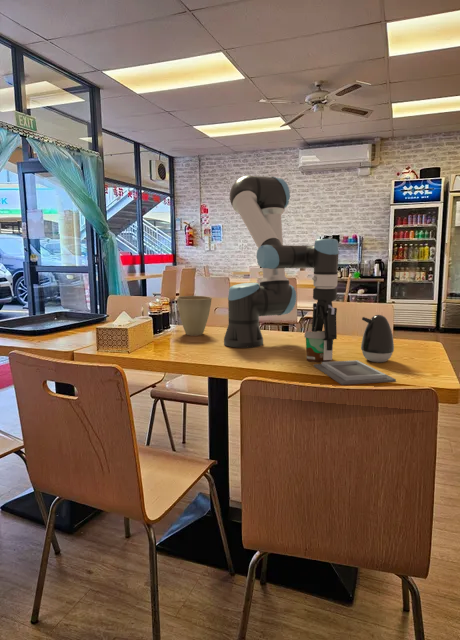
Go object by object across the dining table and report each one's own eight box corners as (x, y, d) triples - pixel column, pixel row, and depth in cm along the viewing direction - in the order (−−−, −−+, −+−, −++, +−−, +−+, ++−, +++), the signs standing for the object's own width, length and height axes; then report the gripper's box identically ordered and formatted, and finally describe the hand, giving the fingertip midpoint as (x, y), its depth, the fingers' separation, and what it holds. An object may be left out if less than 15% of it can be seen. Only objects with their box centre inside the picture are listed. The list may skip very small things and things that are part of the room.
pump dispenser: (357, 356, 152) (359, 312, 150) (388, 357, 151) (391, 312, 149) (363, 364, 142) (365, 316, 140) (396, 364, 141) (399, 317, 138)
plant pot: (179, 338, 185) (179, 299, 182) (175, 331, 199) (175, 296, 196) (215, 336, 188) (214, 298, 186) (208, 330, 202) (208, 295, 200)
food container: (318, 365, 140) (319, 333, 139) (303, 361, 145) (304, 331, 144) (342, 359, 148) (343, 329, 147) (328, 355, 153) (328, 327, 151)
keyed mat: (313, 366, 139) (313, 361, 139) (360, 363, 142) (361, 358, 142) (341, 384, 120) (341, 378, 119) (395, 381, 123) (396, 375, 122)
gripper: (302, 285, 153) (301, 350, 156) (326, 290, 133) (324, 365, 136) (323, 285, 154) (321, 349, 158) (350, 290, 134) (347, 363, 138)
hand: (322, 356), depth 147 cm, fingers closed on food container, 7 cm apart
